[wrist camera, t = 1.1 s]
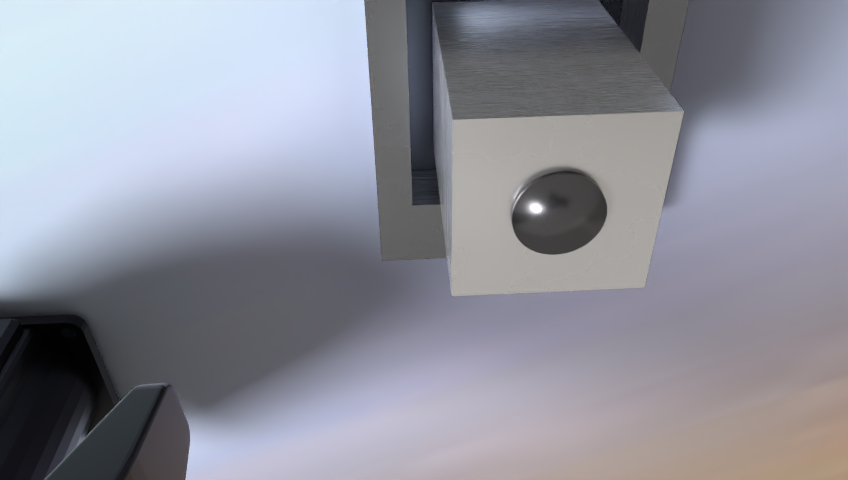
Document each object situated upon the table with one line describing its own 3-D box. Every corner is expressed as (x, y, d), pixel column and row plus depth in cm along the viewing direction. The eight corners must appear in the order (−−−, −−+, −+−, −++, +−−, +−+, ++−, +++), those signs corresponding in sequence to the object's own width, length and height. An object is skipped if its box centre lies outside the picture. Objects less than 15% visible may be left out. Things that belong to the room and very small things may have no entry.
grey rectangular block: (577, 142, 22) (647, 293, 16) (433, 147, 22) (452, 302, 16) (596, -3, 19) (687, 115, 13) (432, 2, 19) (453, 124, 13)
